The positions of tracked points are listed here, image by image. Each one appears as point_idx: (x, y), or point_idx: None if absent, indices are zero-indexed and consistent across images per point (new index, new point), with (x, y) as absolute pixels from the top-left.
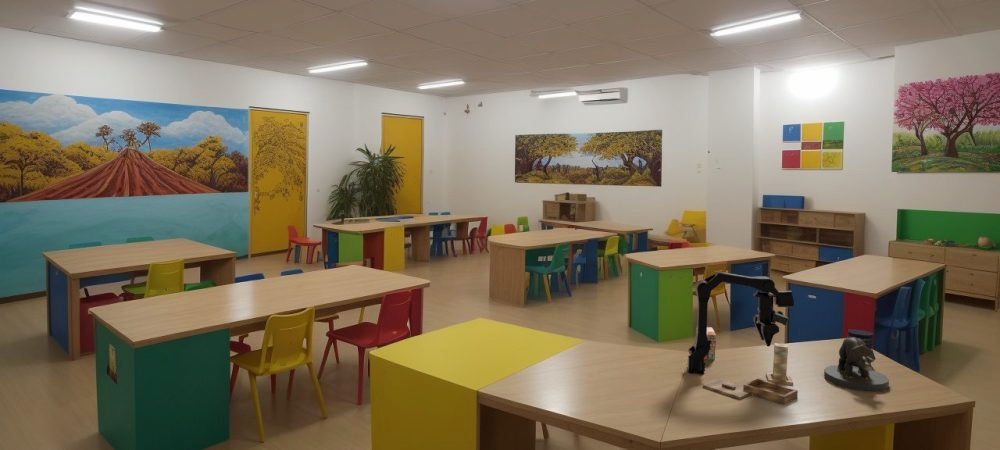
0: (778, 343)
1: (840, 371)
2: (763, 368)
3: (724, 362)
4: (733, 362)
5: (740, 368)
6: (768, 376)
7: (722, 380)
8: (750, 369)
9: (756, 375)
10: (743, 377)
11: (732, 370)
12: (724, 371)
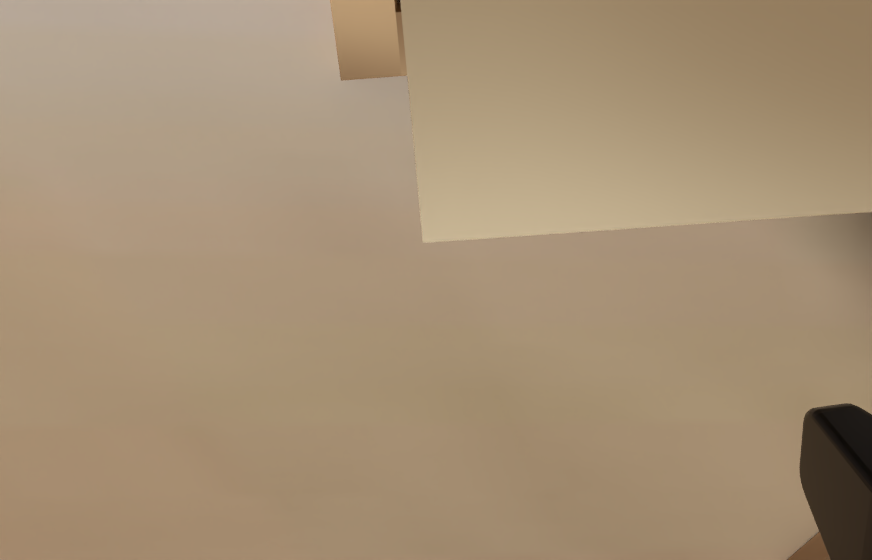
0: (406, 32)
1: None
2: (8, 92)
3: (79, 526)
4: (7, 448)
5: (211, 378)
6: None
7: None
8: (180, 269)
9: None
10: (571, 348)
11: (345, 454)
12: (425, 520)
